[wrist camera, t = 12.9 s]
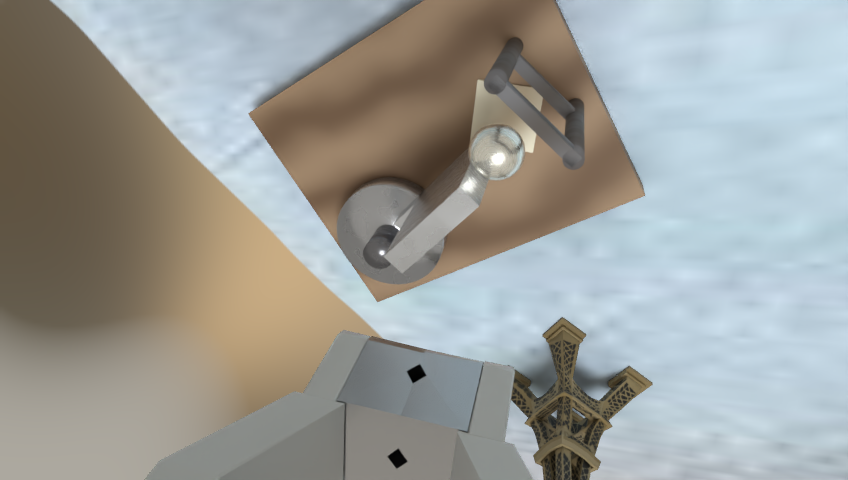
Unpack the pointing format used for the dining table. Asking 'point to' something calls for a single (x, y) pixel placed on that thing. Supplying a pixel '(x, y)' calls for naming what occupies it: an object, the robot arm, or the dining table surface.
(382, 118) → the stand
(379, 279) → the crank handle
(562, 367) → the eiffel tower
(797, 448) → the dining table surface
